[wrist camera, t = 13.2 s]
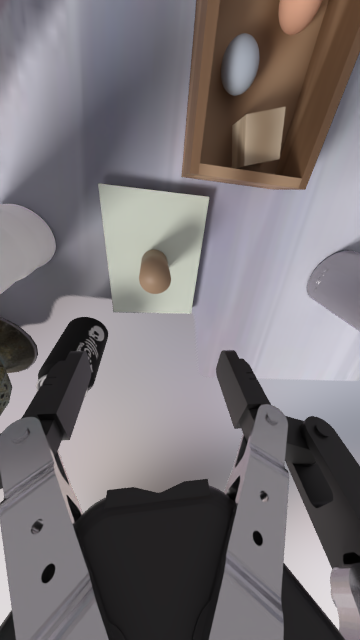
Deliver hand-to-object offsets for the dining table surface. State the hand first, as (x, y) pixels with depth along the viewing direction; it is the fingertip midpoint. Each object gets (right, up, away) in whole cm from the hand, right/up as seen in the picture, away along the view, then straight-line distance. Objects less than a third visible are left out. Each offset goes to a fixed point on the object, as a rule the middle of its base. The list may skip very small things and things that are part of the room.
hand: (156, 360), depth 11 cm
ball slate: (+6, +26, +6) cm, 27 cm away
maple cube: (+9, +22, +9) cm, 25 cm away
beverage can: (-15, +1, +22) cm, 26 cm away
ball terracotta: (+11, +29, +5) cm, 31 cm away
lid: (-2, +11, +15) cm, 19 cm away
